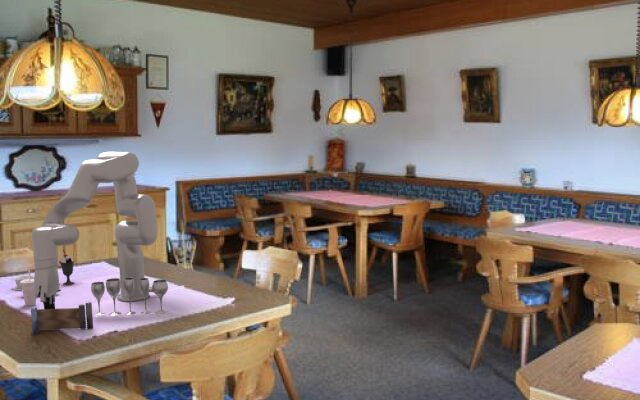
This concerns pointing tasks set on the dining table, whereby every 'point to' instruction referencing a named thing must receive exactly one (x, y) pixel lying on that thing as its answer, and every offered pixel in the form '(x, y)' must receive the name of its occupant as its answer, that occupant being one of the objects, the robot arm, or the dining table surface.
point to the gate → (62, 318)
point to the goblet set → (129, 292)
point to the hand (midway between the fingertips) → (50, 314)
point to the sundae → (67, 268)
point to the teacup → (19, 282)
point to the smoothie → (28, 291)
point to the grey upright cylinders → (35, 318)
